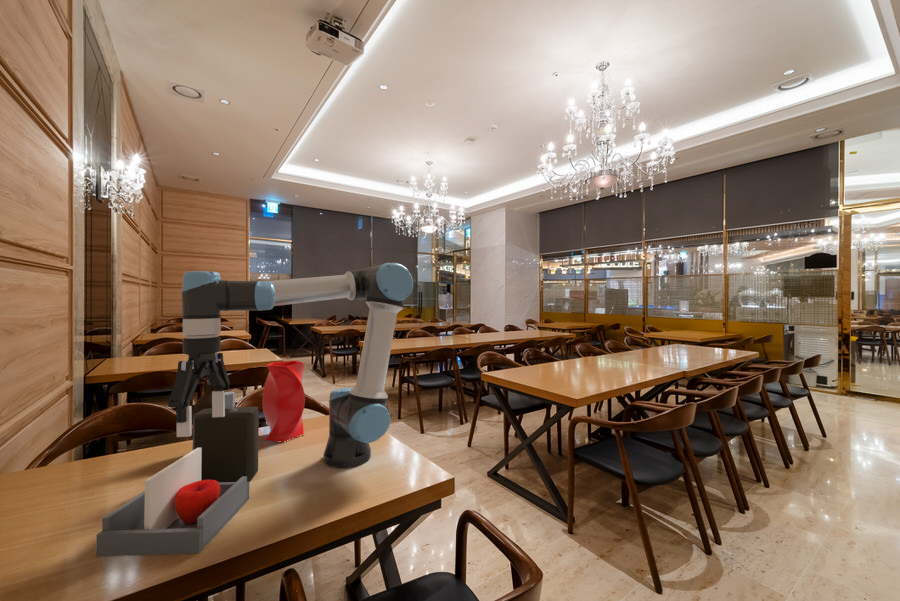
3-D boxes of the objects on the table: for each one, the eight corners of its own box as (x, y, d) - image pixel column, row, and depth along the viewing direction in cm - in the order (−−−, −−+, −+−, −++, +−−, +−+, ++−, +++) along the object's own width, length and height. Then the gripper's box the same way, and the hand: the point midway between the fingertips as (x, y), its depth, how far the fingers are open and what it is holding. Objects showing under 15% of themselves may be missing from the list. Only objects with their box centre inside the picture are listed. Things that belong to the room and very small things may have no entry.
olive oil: (186, 461, 119) (187, 384, 119) (200, 448, 129) (201, 377, 129) (222, 458, 121) (223, 382, 121) (234, 446, 131) (234, 376, 132)
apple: (202, 531, 81) (203, 495, 81) (163, 530, 81) (164, 495, 81) (228, 508, 90) (228, 476, 90) (192, 508, 90) (193, 476, 90)
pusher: (201, 498, 94) (201, 447, 94) (149, 543, 76) (149, 480, 76) (176, 499, 93) (177, 448, 93) (118, 544, 76) (119, 481, 76)
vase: (280, 428, 150) (280, 360, 151) (313, 429, 149) (314, 360, 149) (257, 442, 135) (257, 366, 136) (294, 443, 134) (294, 367, 134)
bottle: (251, 483, 104) (251, 395, 105) (188, 488, 101) (189, 397, 102) (260, 470, 112) (261, 389, 112) (202, 475, 109) (203, 391, 110)
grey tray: (249, 498, 96) (249, 472, 96) (199, 553, 75) (199, 519, 75) (169, 500, 95) (170, 473, 95) (96, 556, 74) (96, 521, 74)
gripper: (215, 332, 99) (215, 410, 99) (145, 342, 74) (146, 447, 74) (243, 331, 100) (244, 409, 100) (184, 342, 75) (185, 445, 75)
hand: (202, 425), depth 87 cm, fingers open, 13 cm apart
